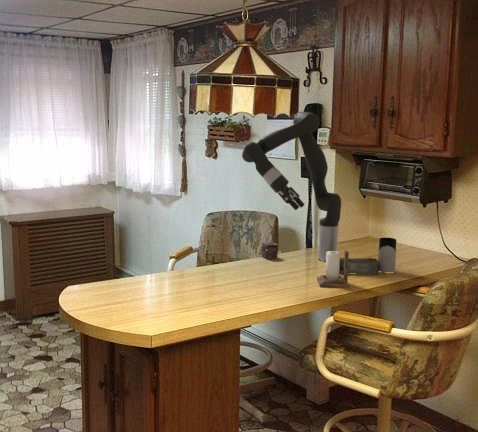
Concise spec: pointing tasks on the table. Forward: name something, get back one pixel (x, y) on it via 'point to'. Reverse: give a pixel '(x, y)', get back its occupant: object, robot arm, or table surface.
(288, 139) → the robot arm
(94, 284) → the table surface
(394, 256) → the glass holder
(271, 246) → the box
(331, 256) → the paper roll
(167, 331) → the table surface
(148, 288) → the table surface
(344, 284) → the walnut holder
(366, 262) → the beverage carton
